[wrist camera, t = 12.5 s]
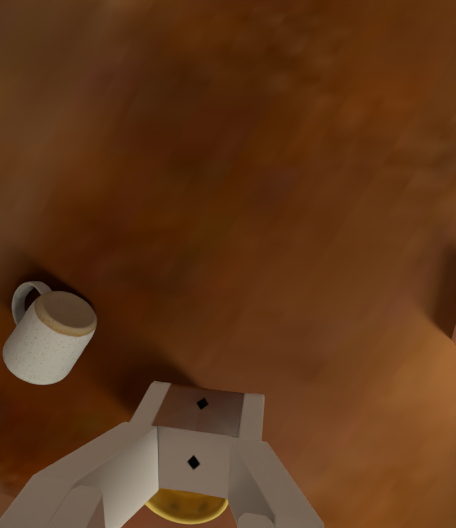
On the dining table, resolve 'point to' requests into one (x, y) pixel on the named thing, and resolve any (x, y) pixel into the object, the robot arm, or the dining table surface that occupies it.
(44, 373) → the ceramic mug
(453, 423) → the dining table surface
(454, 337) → the peach block
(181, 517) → the plant pot
